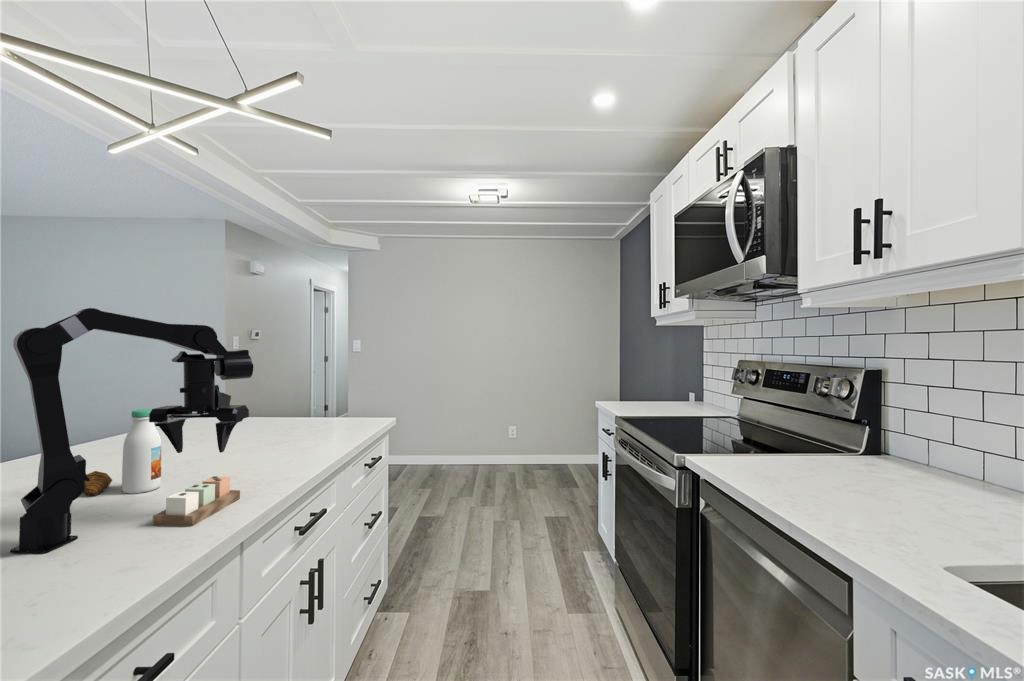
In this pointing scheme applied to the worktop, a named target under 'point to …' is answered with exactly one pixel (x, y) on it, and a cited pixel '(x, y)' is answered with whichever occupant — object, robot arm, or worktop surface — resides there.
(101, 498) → the worktop surface
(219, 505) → the board
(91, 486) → the croissant
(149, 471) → the milk bottle
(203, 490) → the key two
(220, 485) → the key three
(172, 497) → the key one
